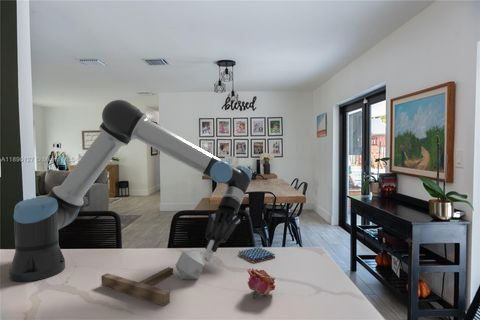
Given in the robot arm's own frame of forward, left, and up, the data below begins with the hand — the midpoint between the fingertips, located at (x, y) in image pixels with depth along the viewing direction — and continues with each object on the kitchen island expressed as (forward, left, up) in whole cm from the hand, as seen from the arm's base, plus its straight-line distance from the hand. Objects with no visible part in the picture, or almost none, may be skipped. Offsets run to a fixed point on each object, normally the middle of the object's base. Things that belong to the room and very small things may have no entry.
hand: (206, 259), depth 101 cm
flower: (+24, -8, -3) cm, 25 cm away
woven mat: (+10, +18, -4) cm, 21 cm away
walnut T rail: (-7, -17, -3) cm, 19 cm away
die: (0, -8, -3) cm, 9 cm away
